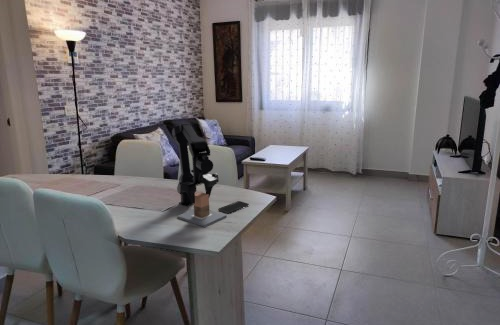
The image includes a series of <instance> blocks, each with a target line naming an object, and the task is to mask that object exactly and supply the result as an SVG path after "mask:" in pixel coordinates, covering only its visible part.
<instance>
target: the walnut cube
mask: <svg viewBox="0 0 500 325" xmlns="http://www.w3.org/2000/svg"><path fill="white" fill-rule="evenodd" d="M193 209H194V216H197V217H200V218H203V217H206V216H208V215H210V211H209V210H210V204H209V205H207V206H204V207H202V208H201V207H197V206H194V205H193Z"/></svg>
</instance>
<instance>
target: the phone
mask: <svg viewBox="0 0 500 325" xmlns="http://www.w3.org/2000/svg"><path fill="white" fill-rule="evenodd" d="M248 205H249V206H250V204H249V203H247V202H244V201H241V200H237V201H235V202H232V203H229V204H227V205H225V206H224V205H223V206H222V207H219V208H218V210H219V211H218V212H220V213H223V214H226V213H227V214H228V215H230V214H233V213H234V212H237V211H236V210H238V211H240V210H242V209H241V208H243V207H245V208H247V207H246V206H248ZM249 206H248V207H249ZM239 209H240V210H239ZM243 209H244V208H243ZM232 212H233V213H232ZM229 213H230V214H229ZM227 214H226V215H227Z"/></svg>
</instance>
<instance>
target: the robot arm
mask: <svg viewBox="0 0 500 325" xmlns="http://www.w3.org/2000/svg"><path fill="white" fill-rule="evenodd" d="M171 135H172V138H173V141H174V142H175V143H176V144H177V148H178V156H179V163H180V164H179V165H180V173H181V174H180V176H179V178H178V183H177V186H176V190H177V193H178V194H179V195H180V202H178V204H179V205H182V206H186V207H188V206H191V205H194V204H195V194H196V192H197V187H198V186H201V185H204V190H205V191H204V192H205V193H206V194H209V198H210V197H211V193H212V190H213V188H214V186H216V185H217V183H219V174H218V173H217V172H215V173H211V174H210V172H211V171H213V169H214V162H213V161H212V160H211V159H209V158H210V156H211V149H210V147H209V145H208V142H207V141H206V140H205V139H204V138H203V137H202V136H199V135H198V134H197V133H196V131H195V130H194V129H193V127H192V124H191V123H189V122H184V123H180V124H179V125H177V126H175V127H173V128H172V130H171ZM189 152H190V154H191V157H192V158H191V159H192V161H191V162H192V169H191V164H190V158H189V155H190V154H189ZM192 173H193V174H192Z"/></svg>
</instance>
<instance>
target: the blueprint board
mask: <svg viewBox="0 0 500 325" xmlns="http://www.w3.org/2000/svg"><path fill="white" fill-rule="evenodd" d="M209 211H210V215H208V216H206V217H203V218H200V217H197V216H194V208H193V209H191V210H188V211H186V212H184V213H181V214H179V215H177V219H180V220H183V221H186V222H189V223H191V224H195V225H197V226H201V227H203V228H206V227H208V226H211V225H213V224H215V223H217V222H219V221H222V220H224V219H226V218H227V214H226V213H222V212H219V211H213V210H210V209H209Z"/></svg>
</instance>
